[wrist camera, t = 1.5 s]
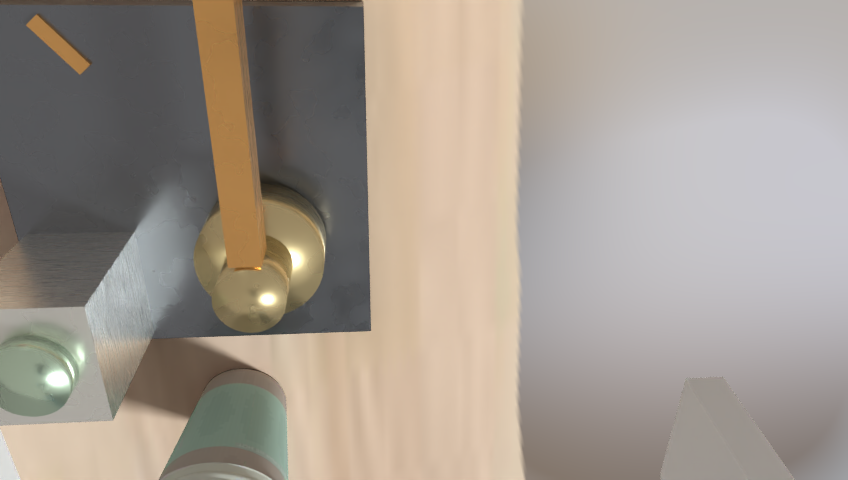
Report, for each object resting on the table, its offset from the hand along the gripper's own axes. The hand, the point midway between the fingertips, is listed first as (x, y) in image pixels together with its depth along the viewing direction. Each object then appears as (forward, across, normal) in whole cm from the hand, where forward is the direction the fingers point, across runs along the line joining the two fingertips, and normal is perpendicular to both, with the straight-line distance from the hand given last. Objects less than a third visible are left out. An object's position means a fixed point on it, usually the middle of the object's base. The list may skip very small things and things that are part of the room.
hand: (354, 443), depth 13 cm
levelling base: (+28, +10, +6) cm, 30 cm away
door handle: (+26, +6, +3) cm, 26 cm away
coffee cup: (+27, +9, +24) cm, 37 cm away
